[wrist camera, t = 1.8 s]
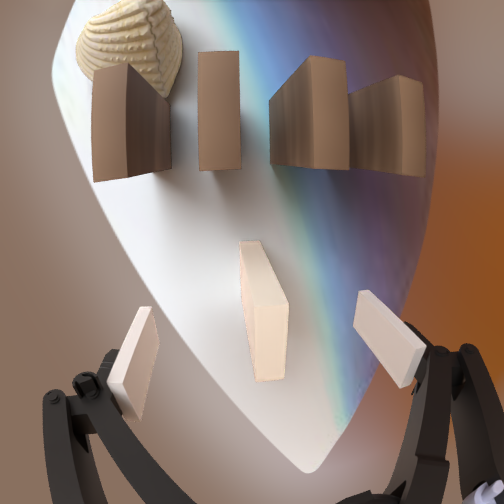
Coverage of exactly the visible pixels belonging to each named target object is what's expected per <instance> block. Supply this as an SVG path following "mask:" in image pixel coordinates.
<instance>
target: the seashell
mask: <svg viewBox="0 0 504 504" xmlns="http://www.w3.org/2000/svg"><path fill="white" fill-rule="evenodd" d="M173 19H174V18H173V17H172V15H171V10H170V9H169V7H168V6H167V5H166V3H165V2H164V1H163V0H121V1H120V2H119V3H117V4H114V5H113V6H111V7H110V8H109V9H107V10H106V11H105V12H103V13H101V14H99V15H96V16H93V17H92V18H91V19H90V20H89V21H88V22H87V23H86V25H85V27H84V29H83V31H82V32H81V34H80V36H79V38H78V41H77V44H76V60H77V63H78V65H79V67H80V69H81V70H82V72H83V73H84V74H85V75H86V76H87V78H89V79H90V80H91V81H93V76H94V71H95V70H98V69H102V68H106V67H110V66H114V65H118V64H122V63H127V62H128V63H129V64H130V65H131V66H132V67H133V68H134V69H135V70H136V71H137V72H138V73H139V74H140V75H141V76H142V77H143V78H144V79H145V80H146V81H147V82H148V83H149V84H150V85H151V86H152V87H153V88H154V89H155V90H156V91H157V92H158V93H159V94H160V95H161V96H162V97H163V98H166V97H168V95H169V92H170V90H171V88H172V85H173V84H174V81H175V77H176V75H177V73H178V71H179V68H180V64H181V59H182V38H181V35H180V32H179V30H178V28H177V26H176V25H175V23H174V20H173Z"/></svg>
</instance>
